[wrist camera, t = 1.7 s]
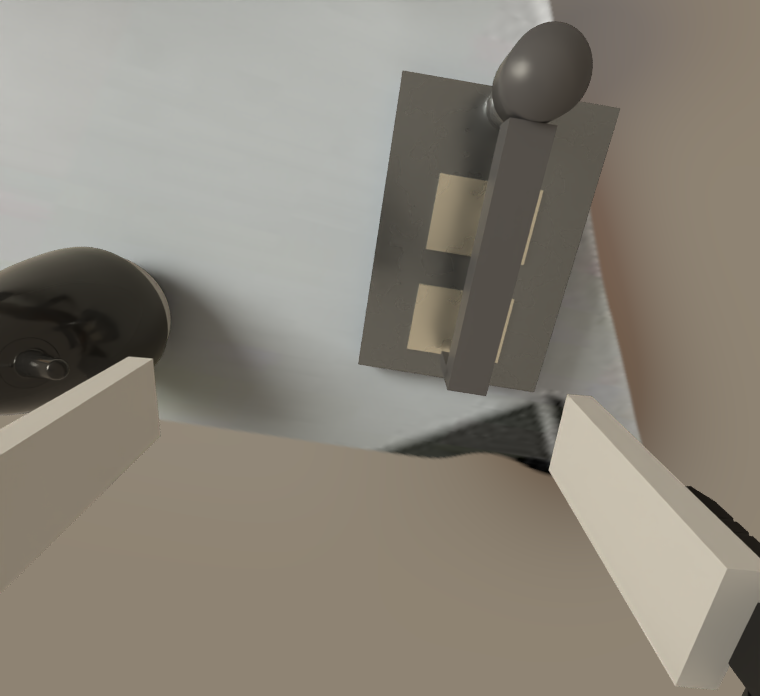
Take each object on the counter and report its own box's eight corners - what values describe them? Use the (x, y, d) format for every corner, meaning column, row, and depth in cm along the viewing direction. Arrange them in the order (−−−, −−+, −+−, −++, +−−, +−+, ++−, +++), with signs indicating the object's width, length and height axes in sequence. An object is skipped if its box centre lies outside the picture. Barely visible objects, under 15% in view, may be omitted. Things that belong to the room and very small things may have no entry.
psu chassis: (403, 72, 28) (405, 38, 22) (607, 108, 29) (662, 83, 23) (360, 355, 35) (353, 386, 29) (526, 382, 35) (552, 417, 29)
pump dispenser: (202, 365, 36) (72, 474, 21) (82, 366, 36) (-126, 474, 22) (181, 240, 32) (10, 268, 18) (49, 243, 33) (-222, 273, 18)
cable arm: (491, 55, 24) (518, 14, 19) (559, 67, 24) (604, 29, 19) (428, 359, 30) (435, 391, 25) (482, 368, 31) (500, 401, 25)
